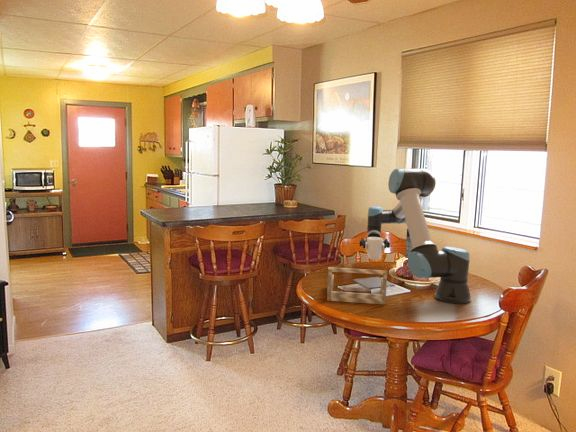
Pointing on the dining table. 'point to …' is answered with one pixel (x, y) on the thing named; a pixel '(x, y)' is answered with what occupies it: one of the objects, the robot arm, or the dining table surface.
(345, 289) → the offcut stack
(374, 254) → the white cup
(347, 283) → the dining table surface
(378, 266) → the dining table surface
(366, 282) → the rubber mat
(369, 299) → the frame
